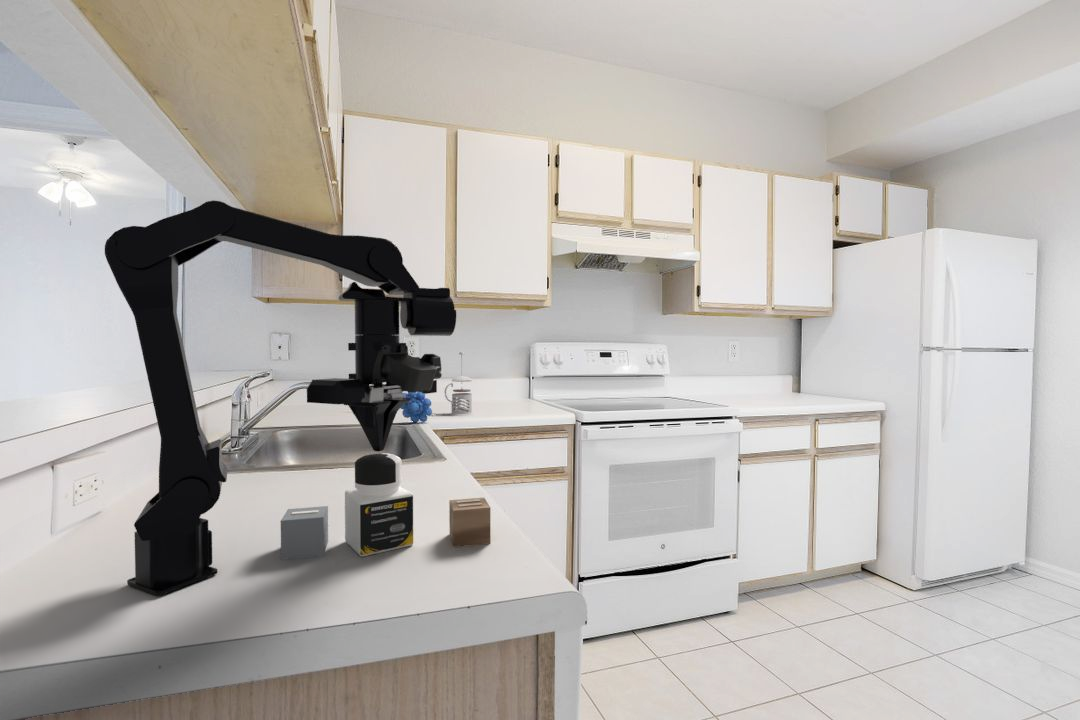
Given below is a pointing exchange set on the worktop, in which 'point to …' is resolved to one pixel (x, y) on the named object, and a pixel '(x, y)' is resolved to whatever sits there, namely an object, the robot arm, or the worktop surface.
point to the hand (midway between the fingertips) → (378, 450)
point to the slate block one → (304, 532)
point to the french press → (461, 397)
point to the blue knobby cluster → (416, 407)
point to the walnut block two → (469, 522)
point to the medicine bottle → (378, 507)
